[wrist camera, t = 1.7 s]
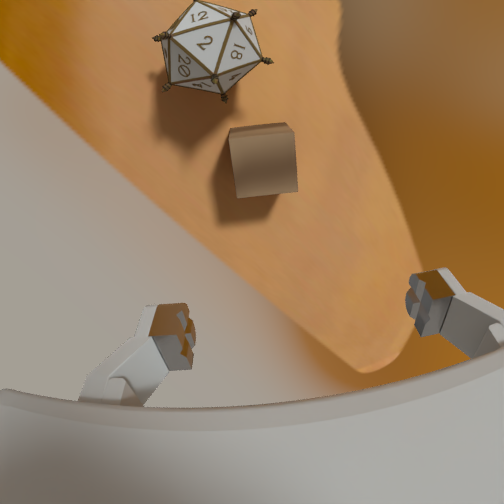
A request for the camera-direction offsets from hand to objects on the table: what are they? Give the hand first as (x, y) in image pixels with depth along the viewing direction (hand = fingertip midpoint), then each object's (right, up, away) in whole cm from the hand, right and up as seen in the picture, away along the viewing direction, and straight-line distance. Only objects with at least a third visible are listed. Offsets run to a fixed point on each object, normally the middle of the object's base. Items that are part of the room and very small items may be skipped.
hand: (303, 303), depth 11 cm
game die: (-5, +19, +12) cm, 23 cm away
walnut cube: (-1, +11, +17) cm, 21 cm away
